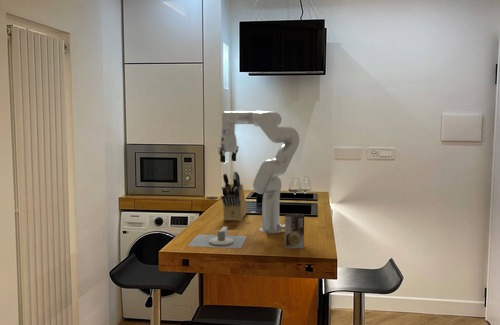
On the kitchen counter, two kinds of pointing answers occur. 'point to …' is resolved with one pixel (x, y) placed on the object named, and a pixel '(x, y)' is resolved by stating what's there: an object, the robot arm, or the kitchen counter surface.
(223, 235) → the dial
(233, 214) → the knife block
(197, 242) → the dial board
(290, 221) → the coffee box
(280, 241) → the kitchen counter surface
